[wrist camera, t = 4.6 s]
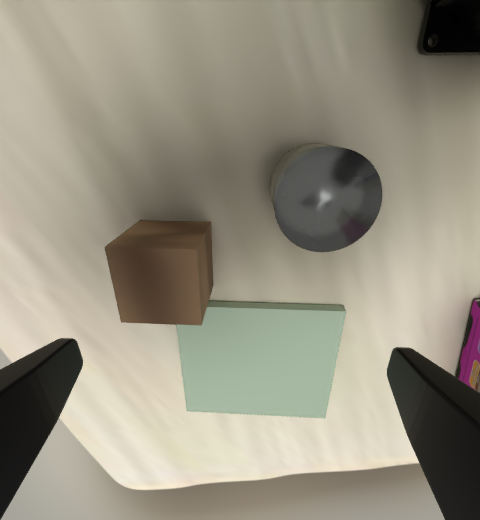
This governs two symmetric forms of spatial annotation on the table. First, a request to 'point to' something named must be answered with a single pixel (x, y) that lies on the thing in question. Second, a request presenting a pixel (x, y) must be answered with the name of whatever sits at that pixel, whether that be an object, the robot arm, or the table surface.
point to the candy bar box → (471, 350)
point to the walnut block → (162, 272)
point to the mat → (261, 358)
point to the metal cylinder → (325, 196)
